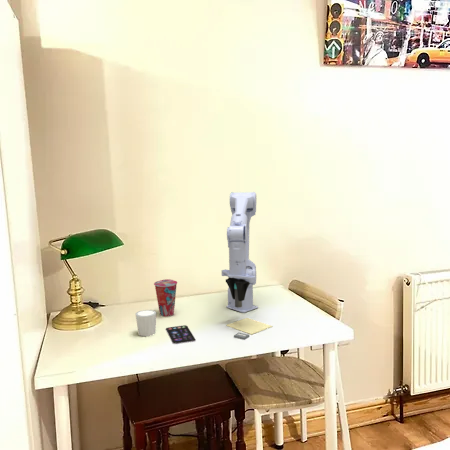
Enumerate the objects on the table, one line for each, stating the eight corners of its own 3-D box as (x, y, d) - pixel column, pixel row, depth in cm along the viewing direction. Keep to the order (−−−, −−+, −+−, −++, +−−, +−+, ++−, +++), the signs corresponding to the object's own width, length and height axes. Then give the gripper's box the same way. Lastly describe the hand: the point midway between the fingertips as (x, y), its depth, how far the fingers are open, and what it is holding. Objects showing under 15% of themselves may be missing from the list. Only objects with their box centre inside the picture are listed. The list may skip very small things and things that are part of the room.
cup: (181, 315, 184) (180, 283, 182) (159, 319, 180) (158, 287, 179) (173, 308, 192) (171, 278, 190) (151, 312, 189) (150, 281, 187)
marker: (233, 306, 173) (232, 283, 172) (238, 304, 175) (238, 282, 173) (238, 308, 171) (237, 285, 170) (243, 306, 173) (243, 283, 172)
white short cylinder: (134, 331, 169) (133, 311, 168) (154, 328, 172) (153, 308, 171) (139, 338, 163) (138, 317, 162) (159, 334, 166) (158, 314, 165)
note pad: (226, 325, 173) (226, 324, 173) (247, 318, 179) (247, 317, 179) (251, 334, 164) (251, 333, 164) (272, 326, 171) (272, 326, 171)
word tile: (233, 337, 162) (233, 335, 162) (238, 334, 165) (238, 332, 165) (244, 339, 160) (244, 337, 160) (249, 336, 163) (249, 334, 162)
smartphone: (186, 324, 174) (196, 340, 160) (186, 326, 174) (196, 342, 160) (165, 327, 172) (173, 344, 158) (165, 329, 172) (173, 345, 158)
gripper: (214, 259, 173) (215, 297, 175) (244, 266, 162) (245, 306, 165) (229, 256, 178) (230, 293, 180) (259, 262, 167) (260, 301, 169)
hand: (238, 299), depth 173 cm, fingers closed on marker, 2 cm apart
